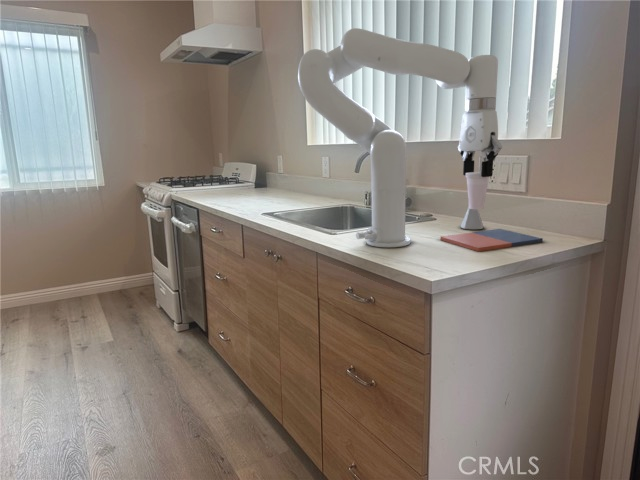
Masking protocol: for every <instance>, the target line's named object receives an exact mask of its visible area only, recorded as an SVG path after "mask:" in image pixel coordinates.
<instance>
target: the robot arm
mask: <svg viewBox="0 0 640 480" xmlns="http://www.w3.org/2000/svg"><path fill="white" fill-rule="evenodd" d="M298 63H299V64H298V69H297V81H298V86H299V89H300V92H301V94H302V95H303V98H304V100H305V101H306V102H307V103H308V104H309V106H310V107H311V108H312V109H313V110H314V111H316V112H317V113H318V114H319V115H321V117H323V118H324V119H325V120H326V121H327V122H329V123H330V124H331V125H332V126H334V127H335V128H336V129H338V130H339V131H340V132H341V133H342V134H343V135H344V137H346V138H347V139H349V140H351V141H353V142H354V143H355V144H357V145H358V146H359V147H361V148H362V149H363V150H364V151H366V152H367V153H368V154H369V155H370V156H369V158H370V188H371V189H370V190H371V191H370V193H371V195H370V196H371V226H370V227H368V229H367V230H366V231H358V232H356V233H355V237H356V239H357V240H362V239H364V240H366V244H367V245H369V246H372V247H377V248H400V247H407V246H408V245H410V244H411V243H412V240H411V239H412V238H410V237H409V236H407V235H406V192H407V191H406V189H407V188H406V186H407V185H406V181H407V179H406V178H407V174H406V173H407V171H406V170H407V143H406V140H405V138H404V136H403V135H402V134H401V133H399V132H398V131H397V130H394V129H392V127H390V126H389V125H388V124H387V123H385V122H384V121H383V120H381V119H380V118H379V117H377V116H376V115H375V114H374V113H373V112H372V111H370V110H369V109H368V108H366V107H364V106H362V105H360V104H359V103H358V102H356V101H355V100H354V99H353V98H352V97H350V96H349V95H347V94H346V93H345V92H344V91H343V90H341V89H340V88H339V86H337V85H336V83H337V82H339V81H341V80H343V79H345V78H346V77H348V76H350V75H352V74H354V73H355V72H357V71H359V70H361V69H362V68H364V67H365V68H370V69H373V70H377V71H380V72H384V73H386V74H390V75H392V76H393V75H394V76H395V75H396V76H404V75H405V76H406V75H411V76H418V77H423V78H427V79H429V80H430V79H431V80H434V81H435V82H436V85H438V86H439V87H440V88H441V89H444V90H455V89H459V88H465V102H464V104H465V105H464V113H463V114H462V117H461V123H460V130H459V131H460V132H459V139H458V140H459V141H458V145H457V149H458V152H459V153H460V157H461V160H462V161H463V168H462V171H463V172H462V173H463V174H462V175H463V176H466V173H469V172H475V160H473V159H474V156H475V154H476V152H481V155H482V158H483V159H482V162H481V176H482V177H489V178H490V177H493V173H494V172H493V171H494V162H495V161H496V157H498V155H499V153H500V152H501V150H502V149H503V145H502V143H501V142H500V140H499V121H498V114H497V110H496V107H497V92H498V91H497V89H498V88H497V86H498V69H499V68H498V67H499V65H498V64H499V60H498V58H497V56H496V55H494V54H481V55H475V56H472V57H470V58H467V57H466V56H465V55H464V54H463V53H461V52H459V51H455V50H452V49H448V48H445V47H441V46H437V45H433V44H429V43H422V42H415V41H408V40H403V39H401V38H400V39H399V38H395V37H391V36H388V35H384V34H381V33H377V32H374V31H372V30H371V31H370V30H367V29H364V28H359V27H356V28H350V29H349V30H346V32H345V33H344V34H343V36H342V37H341V40H340V45H338V46H336V47H335V48H333V49H331V50H329V51H328V52H326V51H324V50H322V49H318V48H313V49H310V50H307V51H306V52H304V54H303V55H302V56H301V58H300V61H299V62H298Z"/></svg>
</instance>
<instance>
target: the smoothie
mask: <svg viewBox="0 0 640 480" xmlns="http://www.w3.org/2000/svg"><path fill="white" fill-rule="evenodd" d="M482 158H483V156H479V159H478V161H479V162H478V171H474V172H469V173H466V176H465V175H464V176H465V178H466V187H467V188H466V189H467V199H468V200H467V201H468V205H469V209H478V210H484V207H485V202H486V196H487V190H488V185H489V179H490V177H482V176H481V169H482V162H483V159H482Z"/></svg>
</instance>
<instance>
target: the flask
mask: <svg viewBox="0 0 640 480" xmlns="http://www.w3.org/2000/svg"><path fill="white" fill-rule="evenodd" d="M460 228H462V229H463V230H482V229H484V223H483V221H482V217H481V214H480V211H479V209H469V204H468V206H467V210H466V212H465V214H464V217H463V220H462V222H461V225H460Z"/></svg>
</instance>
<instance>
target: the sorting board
mask: <svg viewBox="0 0 640 480" xmlns="http://www.w3.org/2000/svg"><path fill="white" fill-rule="evenodd" d="M440 241H443V242H446V243H449V244H452V245H456V246H460V247H462V248H466V249H468V250H472V251H476V252H485V251H493V250H499V249H504V248H511V247H518V246H524V245H532V244H537V243H543V241H544V238H543V237H539V236H534V235H529V234H525V233H521V232H516V231H511V230H508V229H503V228H494V229H488V230H480V231H479V230H478V231H472V232H465V233H456V234H449V235H441V236H440Z"/></svg>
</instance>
